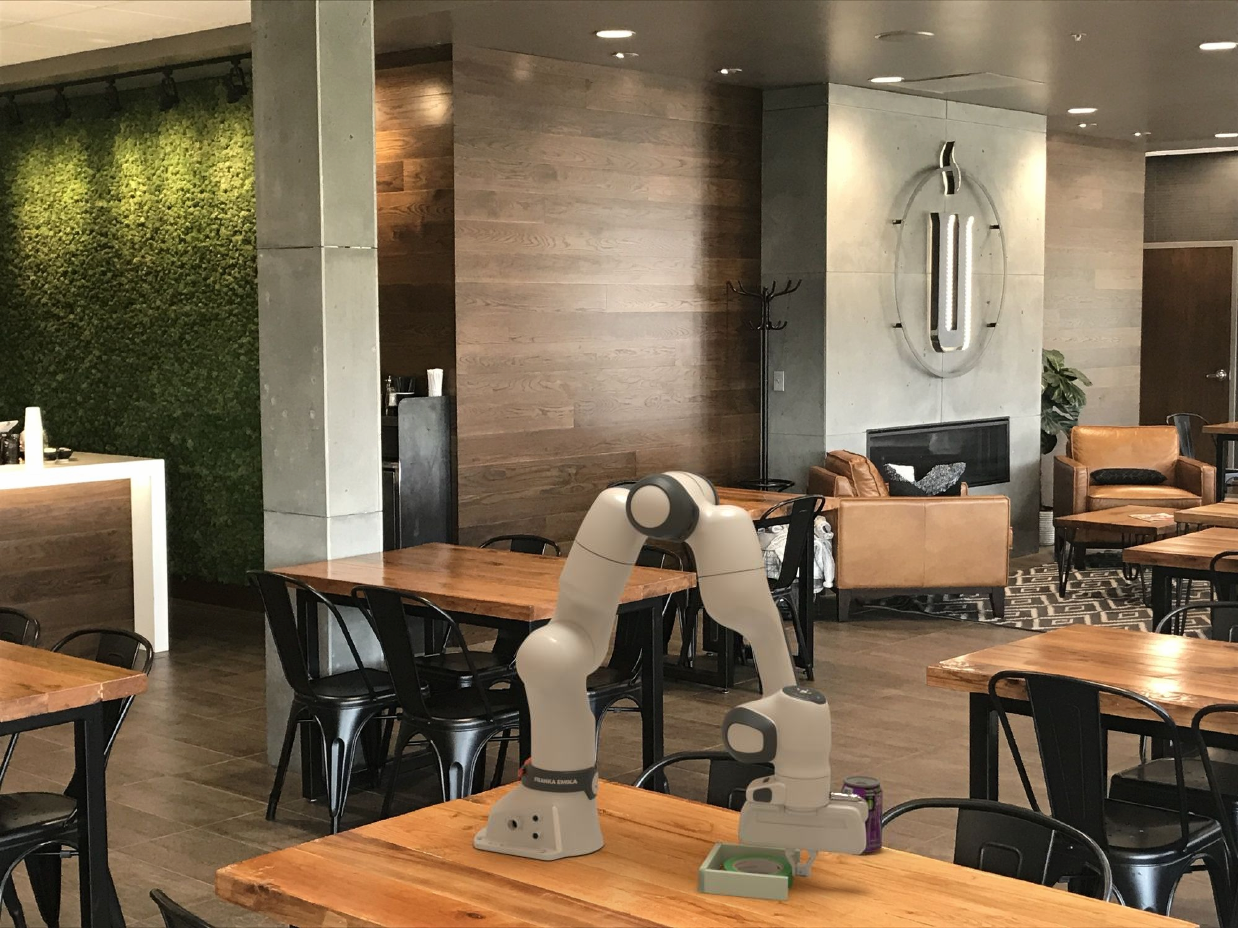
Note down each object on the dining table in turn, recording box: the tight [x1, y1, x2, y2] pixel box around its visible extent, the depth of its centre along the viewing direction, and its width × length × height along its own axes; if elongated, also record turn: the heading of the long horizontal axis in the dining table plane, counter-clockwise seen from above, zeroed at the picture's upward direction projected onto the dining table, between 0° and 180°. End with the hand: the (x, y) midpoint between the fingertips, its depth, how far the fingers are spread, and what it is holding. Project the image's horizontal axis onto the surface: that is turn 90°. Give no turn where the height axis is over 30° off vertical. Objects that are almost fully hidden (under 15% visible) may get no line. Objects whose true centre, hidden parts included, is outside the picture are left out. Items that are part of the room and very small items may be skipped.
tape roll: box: [723, 855, 794, 890], centre depth 234 cm, size 11×11×3 cm
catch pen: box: [697, 841, 802, 902], centre depth 234 cm, size 14×15×4 cm
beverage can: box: [840, 775, 884, 855], centre depth 251 cm, size 7×7×12 cm
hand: (801, 875), depth 232 cm, fingers closed
